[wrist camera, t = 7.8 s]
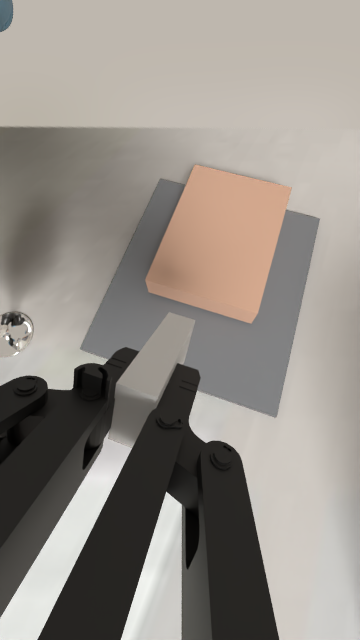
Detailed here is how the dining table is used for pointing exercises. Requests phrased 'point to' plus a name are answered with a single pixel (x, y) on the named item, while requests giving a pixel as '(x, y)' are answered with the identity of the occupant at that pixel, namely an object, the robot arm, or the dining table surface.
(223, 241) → the peach rectangular block
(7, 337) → the wineglass
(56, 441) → the robot arm
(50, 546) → the dining table surface
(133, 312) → the mat
